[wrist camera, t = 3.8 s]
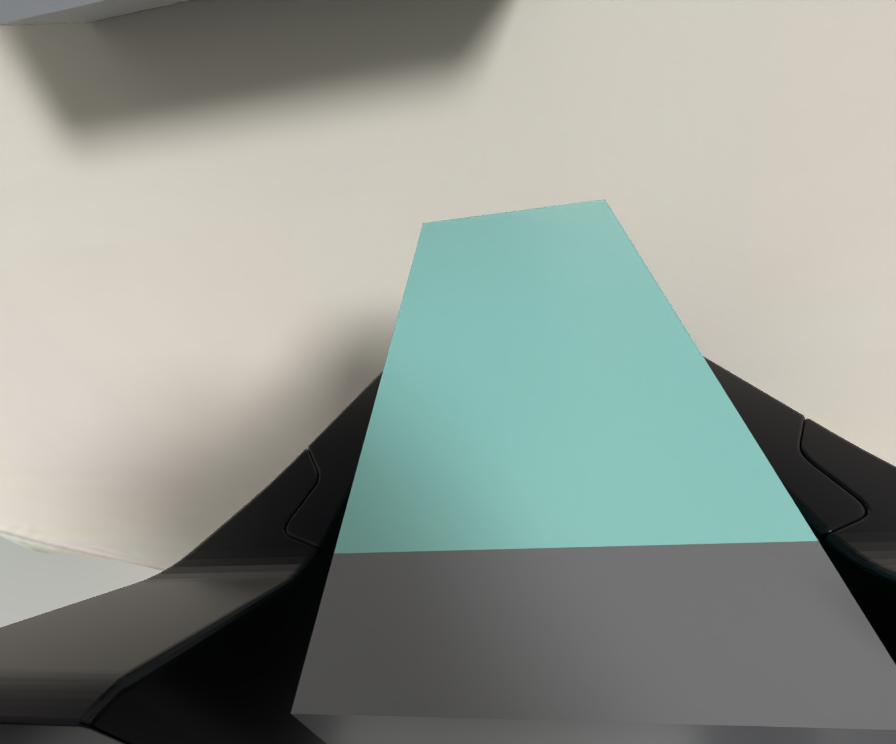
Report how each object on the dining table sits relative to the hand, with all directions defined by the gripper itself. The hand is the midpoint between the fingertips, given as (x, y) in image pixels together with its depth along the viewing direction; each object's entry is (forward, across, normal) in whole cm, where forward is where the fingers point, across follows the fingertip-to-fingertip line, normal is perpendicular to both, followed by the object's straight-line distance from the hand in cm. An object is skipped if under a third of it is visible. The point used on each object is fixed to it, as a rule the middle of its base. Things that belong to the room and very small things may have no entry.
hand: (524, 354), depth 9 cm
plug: (+3, 0, 0) cm, 3 cm away
